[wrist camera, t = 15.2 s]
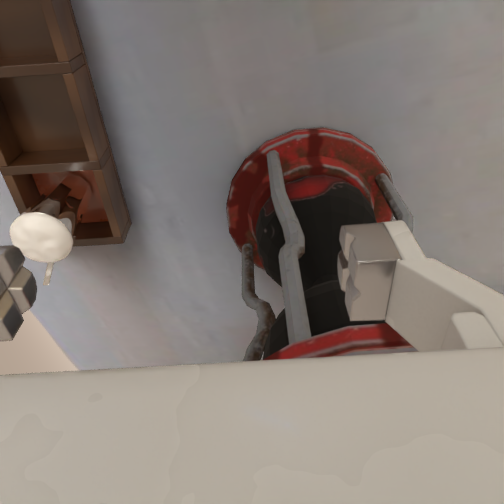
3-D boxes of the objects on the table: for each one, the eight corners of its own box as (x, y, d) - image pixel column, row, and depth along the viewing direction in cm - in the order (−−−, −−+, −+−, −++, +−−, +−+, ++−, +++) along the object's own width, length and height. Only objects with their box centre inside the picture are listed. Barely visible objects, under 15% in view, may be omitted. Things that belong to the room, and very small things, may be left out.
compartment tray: (-73, -63, 28) (-108, -64, 25) (50, -72, 28) (29, -74, 25) (49, 228, 42) (35, 249, 39) (131, 223, 42) (123, 243, 39)
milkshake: (61, 218, 41) (16, 286, 33) (42, 168, 38) (-12, 229, 29) (107, 216, 41) (74, 283, 33) (92, 165, 37) (52, 226, 29)
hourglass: (349, 89, 35) (499, 292, 15) (413, 226, 43) (565, 475, 23) (193, 183, 40) (144, 433, 19) (278, 290, 48) (304, 541, 28)
